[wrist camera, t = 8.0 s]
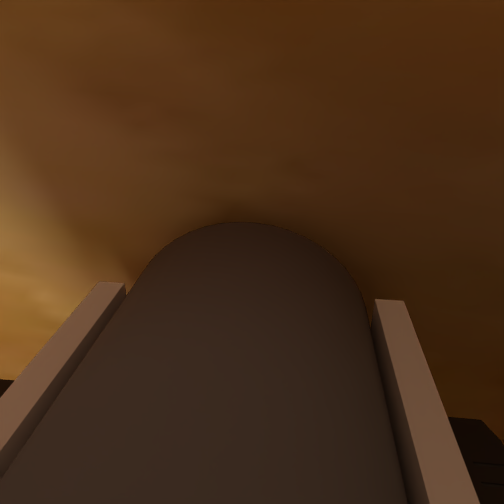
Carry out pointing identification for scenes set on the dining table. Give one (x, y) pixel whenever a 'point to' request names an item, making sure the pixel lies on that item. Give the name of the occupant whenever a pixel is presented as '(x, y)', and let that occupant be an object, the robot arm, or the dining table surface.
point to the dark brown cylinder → (222, 387)
